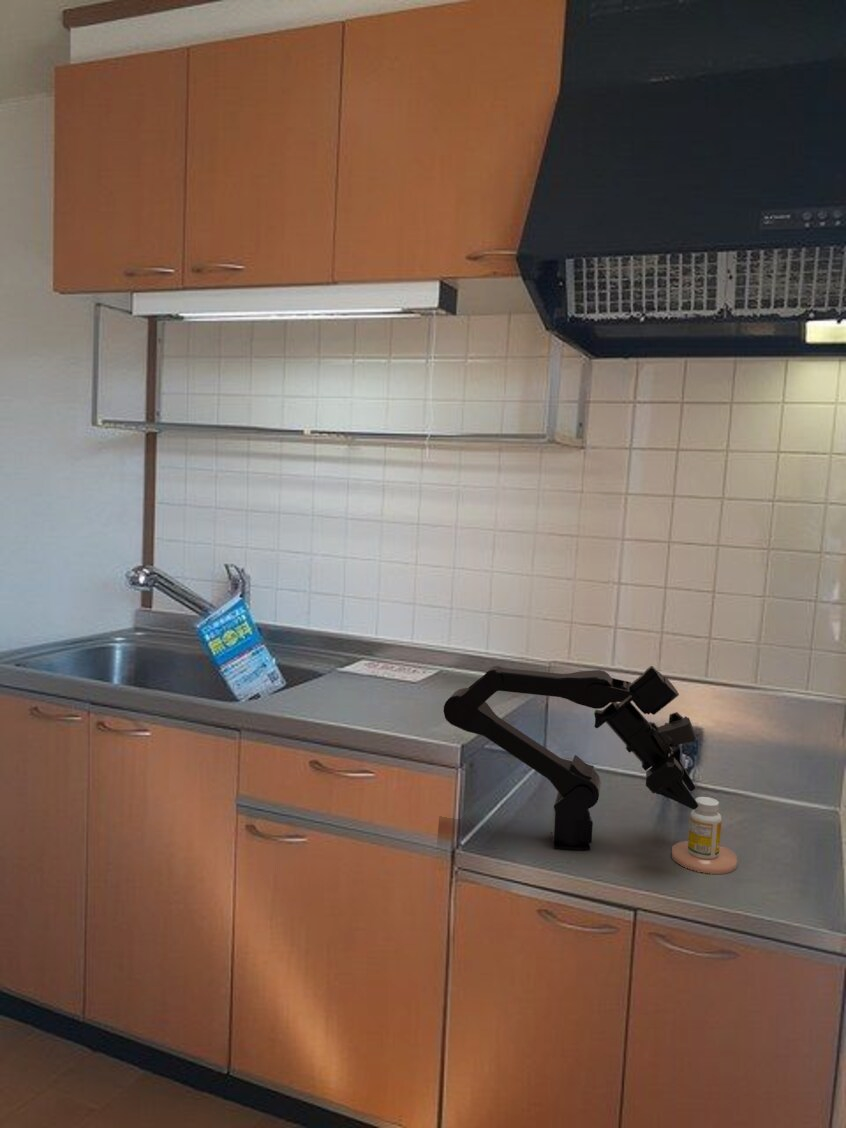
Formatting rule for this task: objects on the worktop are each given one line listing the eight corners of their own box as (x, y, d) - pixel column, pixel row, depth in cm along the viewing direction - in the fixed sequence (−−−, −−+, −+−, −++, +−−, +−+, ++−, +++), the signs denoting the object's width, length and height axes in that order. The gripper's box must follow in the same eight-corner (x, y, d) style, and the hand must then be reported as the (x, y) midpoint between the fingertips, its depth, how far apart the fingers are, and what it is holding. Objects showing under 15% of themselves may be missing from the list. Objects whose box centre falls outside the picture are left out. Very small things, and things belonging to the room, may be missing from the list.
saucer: (679, 872, 150) (680, 865, 150) (665, 845, 161) (666, 839, 161) (745, 875, 150) (745, 869, 150) (726, 848, 161) (727, 842, 160)
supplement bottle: (699, 861, 152) (702, 807, 151) (681, 848, 157) (684, 796, 156) (725, 858, 154) (729, 805, 153) (707, 845, 159) (710, 794, 158)
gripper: (671, 716, 145) (736, 789, 144) (668, 690, 163) (726, 754, 162) (619, 756, 148) (683, 828, 146) (622, 727, 166) (679, 790, 164)
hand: (694, 798), depth 155 cm, fingers open, 9 cm apart
